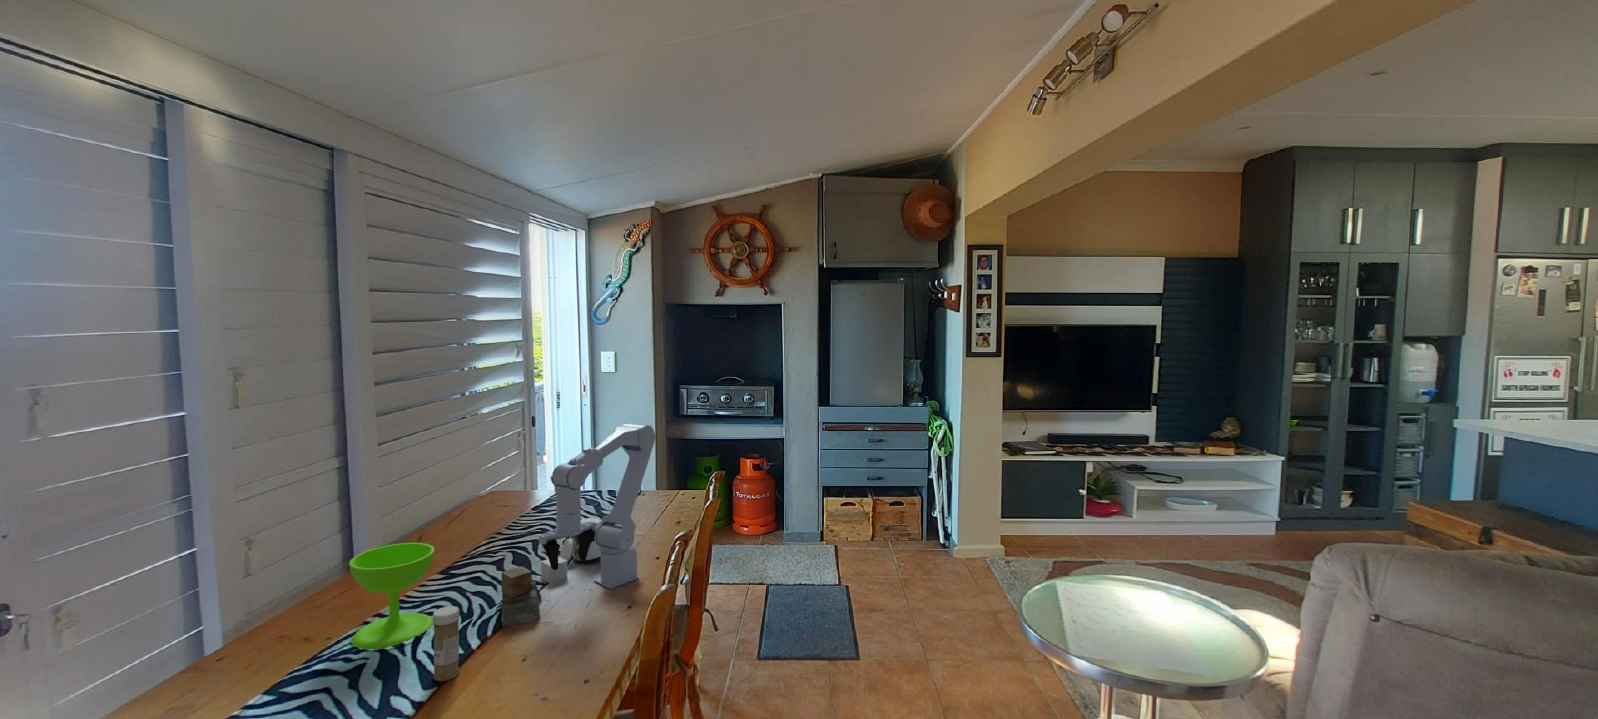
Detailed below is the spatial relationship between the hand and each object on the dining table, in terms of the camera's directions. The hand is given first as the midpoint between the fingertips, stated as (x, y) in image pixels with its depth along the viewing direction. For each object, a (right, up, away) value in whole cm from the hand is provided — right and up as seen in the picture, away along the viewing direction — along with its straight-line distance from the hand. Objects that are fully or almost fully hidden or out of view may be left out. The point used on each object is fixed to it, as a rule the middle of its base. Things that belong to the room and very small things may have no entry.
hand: (568, 564), depth 151 cm
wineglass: (-34, -11, -15) cm, 39 cm away
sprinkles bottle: (-12, -12, -31) cm, 36 cm away
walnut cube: (-11, -5, -4) cm, 13 cm away
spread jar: (-7, -9, +29) cm, 31 cm away
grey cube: (-10, -10, +16) cm, 21 cm away
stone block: (-10, -11, -3) cm, 15 cm away
